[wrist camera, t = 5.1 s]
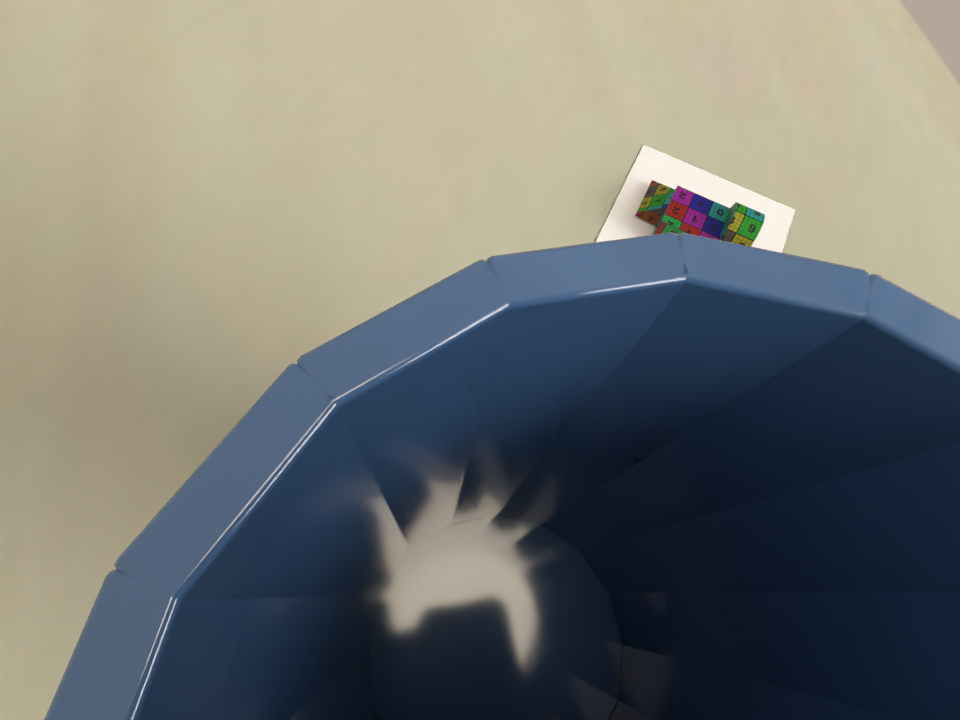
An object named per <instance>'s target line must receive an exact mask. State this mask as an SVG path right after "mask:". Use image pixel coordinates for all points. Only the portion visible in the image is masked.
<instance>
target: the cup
mask: <svg viewBox="0 0 960 720" xmlns="http://www.w3.org/2000/svg"><path fill="white" fill-rule="evenodd" d="M115 567H116V569H115V570H112V571H110V572H109V574H108V575H107V576H106V577H105V580H104V582H103V584H102V587H101V589H100V591H99V594H98V596H97V598H96V601H95V603H94V605H93V608H92V610H91V612H90V615H89V617H88V619H87V622H86V624H85V626H84V629H83V631H82V633H81V636H80V638H79V640H78V643H77V645H76V647H75V650H74V652H73V654H72V657H71V659H70V661H69V664H68V666H67V668H66V671H65V673H64V675H63V677H62V680H61V682H60V684H59V687H58V689H57V691H56V694H55V696H54V698H53V701H52V703H51V705H50V708H49V710H48V712H47V715H46V717H45V719H44V720H960V319H958V318H957V317H955V316H953V315H951V314H949V313H947V312H945V311H944V310H942V309H940V308H938V307H936V306H934V305H932V304H931V303H929V302H927V301H925V300H923V299H921V298H919V297H918V296H916V295H914V294H912V293H910V292H908V291H906V290H905V289H903V288H901V287H899V286H897V285H895V284H893V283H892V282H890V281H888V280H886V279H884V278H882V277H880V276H879V275H876V274H870V275H869V274H868V272H867V271H865V270H862V269H857V268H853V267H848V266H843V265H838V264H833V263H828V262H823V261H819V260H814V259H809V258H804V257H799V256H794V255H789V254H785V253H780V252H775V251H770V250H765V249H760V248H756V247H751V246H746V245H741V244H736V243H731V242H726V241H722V240H717V239H712V238H707V237H702V236H697V235H692V234H688V233H679V234H678V235H676V234H675V233H672V232H670V233H662V234H655V235H647V236H640V237H632V238H625V239H617V240H610V241H602V242H595V243H587V244H580V245H572V246H565V247H557V248H550V249H542V250H535V251H527V252H520V253H512V254H505V255H497V256H492V257H489V258H488V259H487V260H486V261H484V260H479V261H477V262H475V263H473V264H471V265H469V266H468V267H466V268H464V269H462V270H460V271H458V272H456V273H455V274H453V275H451V276H449V277H447V278H445V279H443V280H441V281H440V282H438V283H436V284H434V285H432V286H430V287H428V288H427V289H425V290H423V291H421V292H419V293H417V294H415V295H414V296H412V297H410V298H408V299H406V300H404V301H402V302H401V303H399V304H397V305H395V306H393V307H391V308H389V309H388V310H386V311H384V312H382V313H380V314H378V315H376V316H375V317H373V318H371V319H369V320H367V321H365V322H363V323H362V324H360V325H358V326H356V327H354V328H352V329H350V330H349V331H347V332H345V333H343V334H341V335H339V336H337V337H335V338H334V339H332V340H330V341H328V342H326V343H324V344H322V345H321V346H319V347H317V348H315V349H313V350H311V351H309V352H308V353H306V354H304V355H302V356H301V357H300V358H299V359H298V360H297V364H291V365H289V366H288V367H287V368H286V369H285V370H284V372H283V373H282V374H281V375H280V376H279V377H278V378H277V379H276V381H275V382H274V383H273V384H272V385H271V386H270V387H269V388H268V390H267V391H266V392H265V393H264V394H263V395H262V396H261V397H260V399H259V400H258V401H257V402H256V403H255V404H254V405H253V406H252V408H251V409H250V410H249V411H248V412H247V413H246V414H245V416H244V417H243V418H242V419H241V420H240V421H239V422H238V423H237V425H236V426H235V427H234V428H233V429H232V430H231V431H230V432H229V434H228V435H227V436H226V437H225V438H224V439H223V440H222V441H221V443H220V444H219V445H218V446H217V447H216V448H215V449H214V450H213V452H212V453H211V454H210V455H209V456H208V457H207V458H206V459H205V461H204V462H203V463H202V464H201V465H200V466H199V467H198V469H197V470H196V471H195V472H194V473H193V474H192V475H191V476H190V478H189V479H188V480H187V481H186V482H185V483H184V484H183V485H182V487H181V488H180V489H179V490H178V491H177V492H176V493H175V494H174V496H173V497H172V498H171V499H170V500H169V501H168V502H167V503H166V505H165V506H164V507H163V508H162V509H161V510H160V511H159V512H158V514H157V515H156V516H155V517H154V518H153V519H152V520H151V521H150V523H149V524H148V525H147V526H146V527H145V528H144V529H143V531H142V532H141V533H140V534H139V535H138V536H137V537H136V538H135V540H134V541H133V542H132V543H131V544H130V545H129V546H128V547H127V549H126V550H125V551H124V552H123V553H122V554H121V555H120V556H119V558H118V559H117V561H116V563H115Z"/></svg>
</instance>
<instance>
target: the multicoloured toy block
mask: <svg viewBox="0 0 960 720" xmlns="http://www.w3.org/2000/svg"><path fill="white" fill-rule="evenodd" d="M794 213H795V210H794V209H792V208H790V207H787V206H785V205H783V204H780V203H778V202H776V201H773V200H771V199H769V198H766V197H764V196H762V195H759V194H757V193H755V192H752V191H750V190H748V189H745V188H743V187H741V186H738V185H736V184H734V183H731V182H729V181H727V180H725V179H722V178H720V177H718V176H715V175H713V174H711V173H708V172H706V171H704V170H701V169H699V168H697V167H694V166H692V165H690V164H687V163H685V162H683V161H680V160H678V159H676V158H673V157H671V156H669V155H666V154H664V153H662V152H659V151H657V150H655V149H652V148H650V147H648V146H646V145H643V147H642V149H641V151H640V153H639V155H638V157H637V159H636V161H635V163H634V165H633V167H632V169H631V171H630V173H629V175H628V177H627V179H626V181H625V183H624V185H623V187H622V189H621V191H620V193H619V195H618V197H617V199H616V201H615V203H614V205H613V208H612V210H611V212H610V214H609V216H608V218H607V220H606V222H605V224H604V226H603V228H602V230H601V232H600V234H599V236H598V238H597V240H596V242H602V241H610V240H617V239H625V238H632V237H640V236H647V235H655V234H662V233H670V232H672V233H675V234H676V235H678V234H679V233H688V234H692V235H697V236H702V237H707V238H712V239H717V240H722V241H726V242H731V243H736V244H741V245H746V246H751V247H756V248H760V249H765V250H770V251H775V252H780V253H782V251H783V248H784V245H785V241H786V238H787V235H788V232H789V229H790V226H791V223H792V220H793V216H794Z"/></svg>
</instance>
